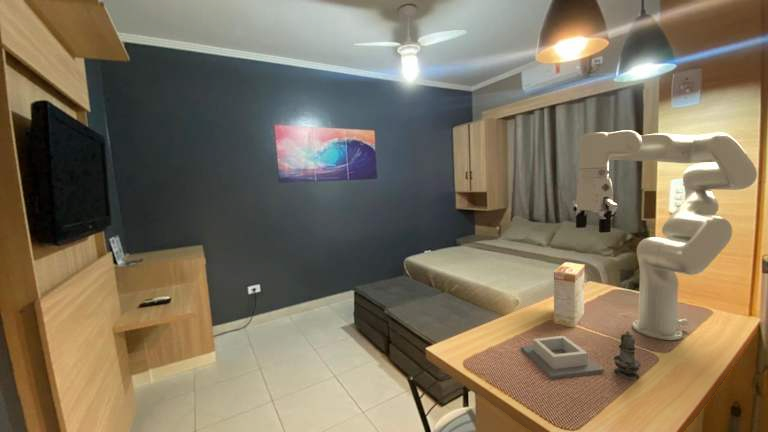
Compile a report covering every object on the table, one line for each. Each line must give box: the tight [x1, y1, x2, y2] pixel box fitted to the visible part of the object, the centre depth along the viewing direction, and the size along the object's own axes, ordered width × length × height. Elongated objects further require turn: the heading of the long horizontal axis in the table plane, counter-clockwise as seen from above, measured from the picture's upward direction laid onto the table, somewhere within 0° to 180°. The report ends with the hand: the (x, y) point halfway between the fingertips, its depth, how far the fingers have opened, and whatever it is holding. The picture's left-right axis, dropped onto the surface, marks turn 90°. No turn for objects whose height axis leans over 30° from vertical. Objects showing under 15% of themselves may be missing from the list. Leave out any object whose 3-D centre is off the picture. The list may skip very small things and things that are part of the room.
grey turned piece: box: [612, 331, 642, 381], centre depth 83 cm, size 6×6×12 cm
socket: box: [520, 335, 604, 380], centre depth 91 cm, size 15×15×4 cm
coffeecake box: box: [553, 261, 586, 329], centre depth 116 cm, size 15×7×20 cm, turn 136°
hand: (592, 229), depth 97 cm, fingers open, 9 cm apart
